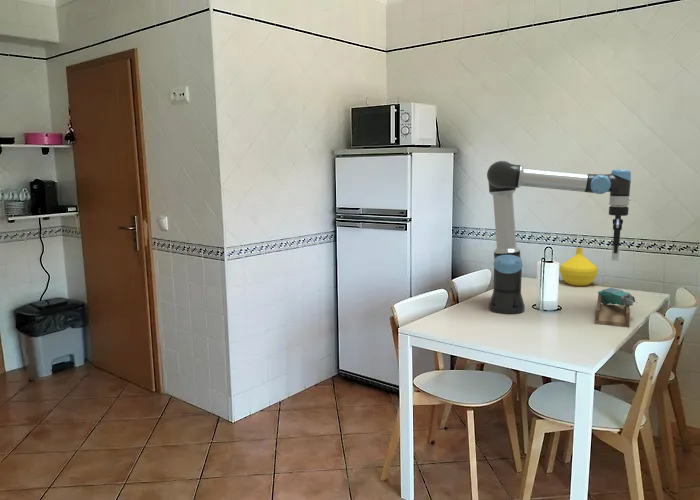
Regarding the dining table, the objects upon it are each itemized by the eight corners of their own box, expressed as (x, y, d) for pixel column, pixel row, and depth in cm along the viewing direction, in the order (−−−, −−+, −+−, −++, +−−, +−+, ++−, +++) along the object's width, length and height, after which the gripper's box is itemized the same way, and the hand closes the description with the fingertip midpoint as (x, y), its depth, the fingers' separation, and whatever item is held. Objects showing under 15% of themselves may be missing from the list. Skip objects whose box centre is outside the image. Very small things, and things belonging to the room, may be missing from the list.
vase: (563, 287, 281) (564, 250, 278) (556, 280, 299) (557, 245, 296) (601, 288, 278) (603, 251, 275) (591, 280, 296) (593, 245, 293)
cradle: (595, 323, 218) (596, 310, 217) (597, 306, 243) (598, 294, 242) (628, 327, 213) (629, 313, 212) (627, 309, 238) (628, 297, 237)
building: (614, 300, 244) (646, 310, 214) (601, 304, 244) (630, 314, 215) (611, 287, 244) (642, 295, 214) (597, 291, 244) (626, 299, 214)
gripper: (628, 207, 227) (624, 263, 230) (628, 205, 238) (624, 258, 242) (608, 206, 230) (605, 262, 234) (609, 204, 241) (605, 257, 245)
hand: (614, 260), depth 238 cm, fingers closed
